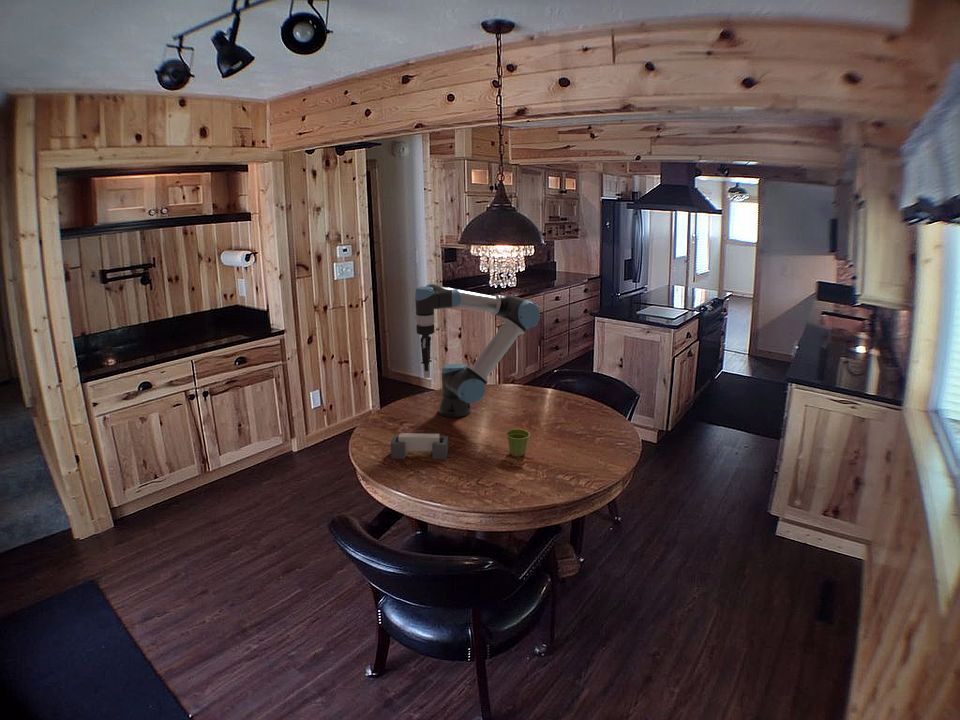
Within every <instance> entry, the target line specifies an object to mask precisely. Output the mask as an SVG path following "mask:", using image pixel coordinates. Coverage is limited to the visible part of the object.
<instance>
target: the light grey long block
mask: <svg viewBox="0 0 960 720" xmlns="http://www.w3.org/2000/svg"><path fill="white" fill-rule="evenodd" d="M398 435H399V436H398V442H405V451H408V452H432V443H440V436H441V435H440V433H416V432H415V433H412V432H411V433H407V432H405V433H403V432H402V433H400V432H399V433H398Z"/></svg>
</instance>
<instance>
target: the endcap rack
mask: <svg viewBox="0 0 960 720" xmlns="http://www.w3.org/2000/svg"><path fill="white" fill-rule="evenodd" d="M398 436H399V434H397V435H395V434H394V435H393V437H392V440H391V442H390V458H391V460H392V459H393V460H394V459H396V460H397V459H398V460H400V459H401V460H405V459H406V457H407V454H408V452H409V451H405V442H398ZM439 436H440V443H432V451H431V454H432V456H431V457H432V460H447V458H448V454H449V435H439Z"/></svg>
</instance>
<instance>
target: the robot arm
mask: <svg viewBox="0 0 960 720" xmlns="http://www.w3.org/2000/svg"><path fill="white" fill-rule="evenodd" d="M414 292H415V293H414V295H415V296H414V300H415V315H414V319H416V321H415V322H416V326H415V327H416V334H417V335H421V337H420V349H421V358H422V359H421V364H422V366H423V367H422V370H423V378H424V379H430V378H431V363H432V361H433V360H431V346H432V345H431V341H432V337H431V335H434V333H435V310H438V309H440V310H442V309H448V308H450V309H451V308H455V307H456V308H459V307H460V308H465V309H471V310H475V311H483V312H488V313H490V314H491V315H493V316H497V317H501V318H502V319H503V320H502V321H503V324H502V326H501V327H500V328H499V329H498V330H497V332H496V333H495V335H494V336H493V337H492V339H491V340H490V341H489V343H488V344H487V345H486V346H485V348H484V349H483V351H482V352H481V353H480V354H479V355H478V357H477V358H476V360H475V361H474V362H473V364H471V365H469V366H467V365H466V364H463V363H451V364H446V365H444V366H443V367H442V368H441V392H442V393H441V394H442V395H441V400H440V402H439V406H438V413H439V414H440V415H441V416H443V417H448V418H462V417H465V416H467V415H469V414H471V412H472V406H471V404H475V403H478V402H479V401H480V400H482V399H483V397H484V396H485V395H486V385H487V384H488V382H489V379H488V377H489V375H490V374H491V373H492V371H493V370H494V369H495V368H496V366H497V365H498V363H499V362H500V361H501V360H502V358H503V357H504V355H506V353H507V352H508V350H510V348H511V346H512V345H513V343H514V342H515V341H516V339H517V338H518V337H519V335H524V334H526V332H527V331H528V329H533V328H535V327H536V326H537V325H538V324H539V321H540V318H541V310H540V307H539V306H538V305H537V304H536V303H535V302H533V301H531V300H528V299H524V298H522V297H519V296H515V295H504V294H502V295H501V294H494V295H490V294H486V293H485V294H484V293H478V292H473V291H469V290H468V291H467V290H462V289H458V288H452V287H446V286H441V285H437V284H435V283H434V284H433V283H429V284H426V285H425V286H419V287H416V288H415V291H414Z"/></svg>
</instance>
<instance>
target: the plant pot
mask: <svg viewBox="0 0 960 720" xmlns="http://www.w3.org/2000/svg"><path fill="white" fill-rule="evenodd" d="M505 434H506V435H505V436H506V437H507V440H508V446H509V447H508V448H509V454H510V455H512V456H513V457H522V456H524V455H525V454H526V451H527V450H526V448H527V444H528V440H529V437H530V435H531V433H530V432H529V431H528V430H525V429H520V428H514V429H510V430H509V429H508V431H506V433H505Z"/></svg>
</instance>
